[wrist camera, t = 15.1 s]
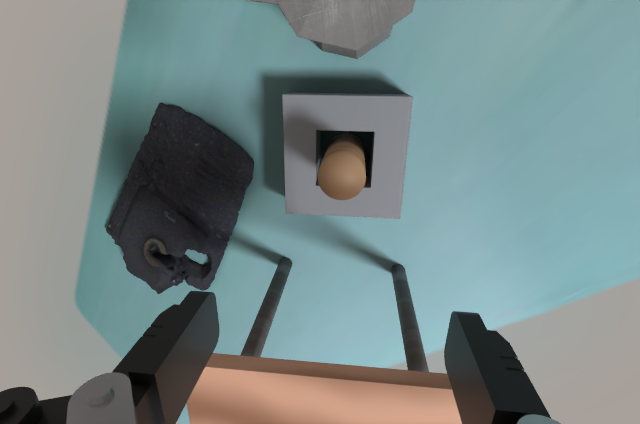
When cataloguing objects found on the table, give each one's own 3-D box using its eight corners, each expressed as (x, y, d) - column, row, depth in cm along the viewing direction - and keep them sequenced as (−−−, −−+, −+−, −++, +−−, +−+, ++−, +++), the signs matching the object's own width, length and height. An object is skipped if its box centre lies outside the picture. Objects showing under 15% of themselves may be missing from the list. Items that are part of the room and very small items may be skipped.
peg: (327, 133, 37) (317, 152, 28) (365, 134, 37) (367, 154, 28) (327, 169, 39) (317, 199, 30) (363, 170, 38) (364, 201, 29)
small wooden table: (275, 207, 41) (179, 364, 19) (413, 214, 40) (482, 392, 17) (278, 272, 44) (199, 470, 22) (405, 281, 43) (454, 501, 21)
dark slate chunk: (281, 163, 40) (271, 175, 35) (205, 295, 48) (189, 317, 43) (161, 89, 38) (135, 91, 34) (103, 238, 46) (76, 256, 42)
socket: (290, 92, 36) (282, 94, 32) (407, 94, 35) (412, 96, 31) (292, 200, 41) (285, 213, 37) (396, 205, 39) (400, 218, 36)
